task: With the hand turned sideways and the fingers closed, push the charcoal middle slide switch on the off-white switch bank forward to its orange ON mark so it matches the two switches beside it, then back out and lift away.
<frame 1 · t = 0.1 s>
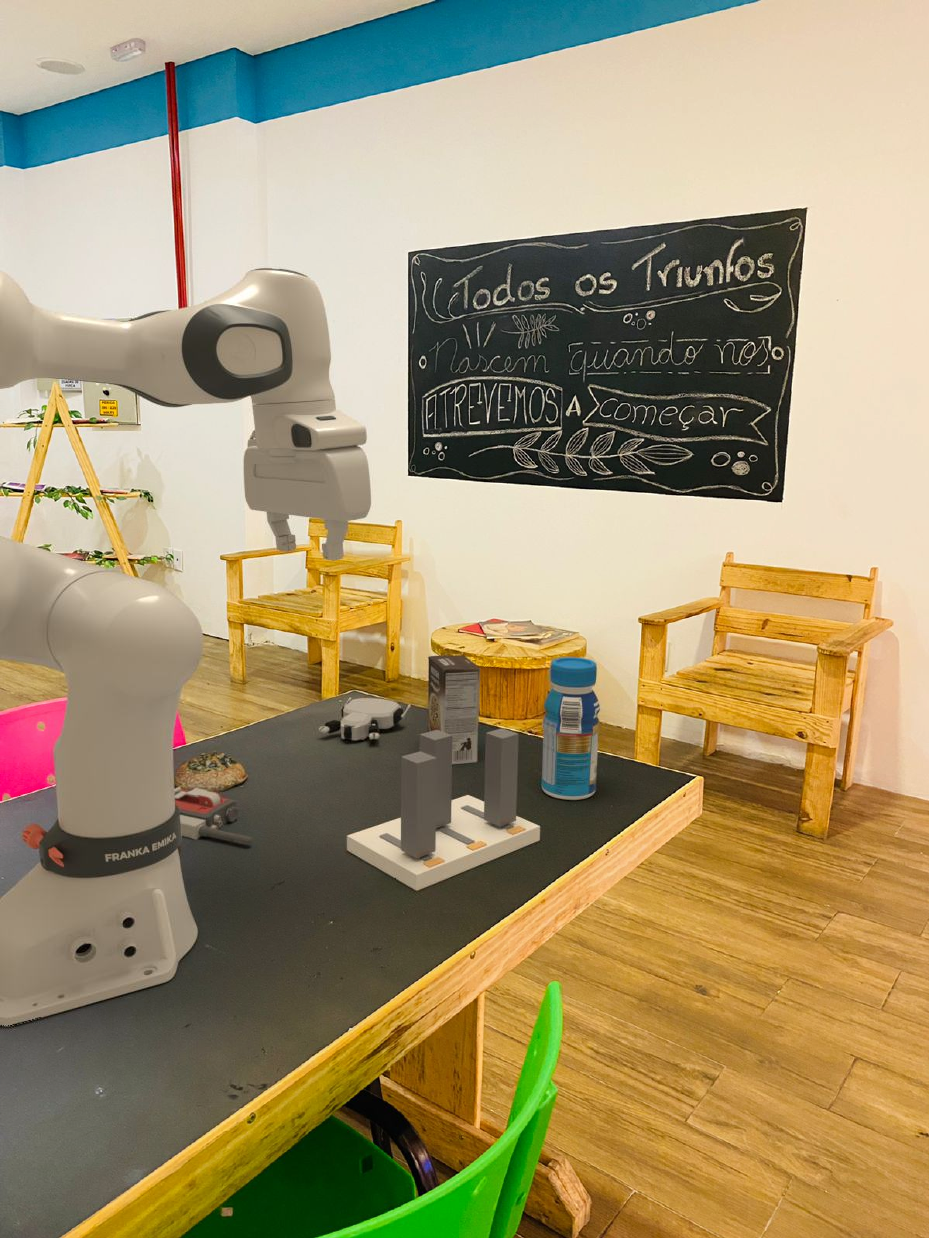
hand: (309, 554, 103), 39 cm above the table, tool pointing down, fingers open, 8 cm apart
left switch: (418, 804, 111), point 9 cm above the table, slide at 5.0 cm
walkie-talkie: (204, 828, 125), on the table
coffee box: (452, 756, 153), on the table
beverage bottle: (568, 792, 139), on the table
right switch: (501, 777, 120), point 9 cm above the table, slide at 5.0 cm
bread roll: (210, 783, 140), on the table
robot toy: (364, 734, 164), on the table
switch bank: (444, 845, 120), on the table
middle switch: (435, 778, 119), point 9 cm above the table, slide at 0.0 cm
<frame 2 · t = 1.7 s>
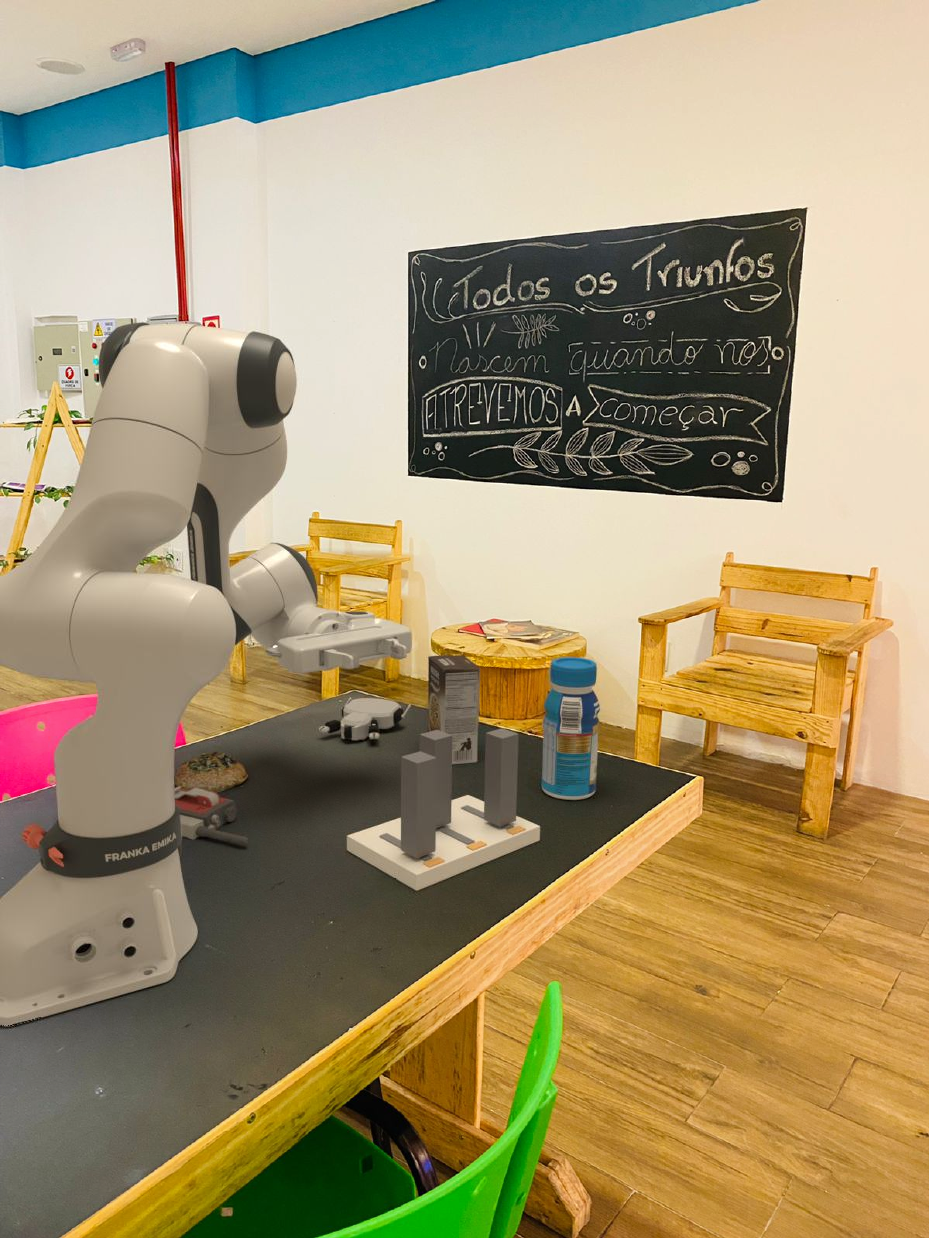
hand: (379, 657, 125), 22 cm above the table, tool horizontal, fingers open, 7 cm apart
nothing on the table moved.
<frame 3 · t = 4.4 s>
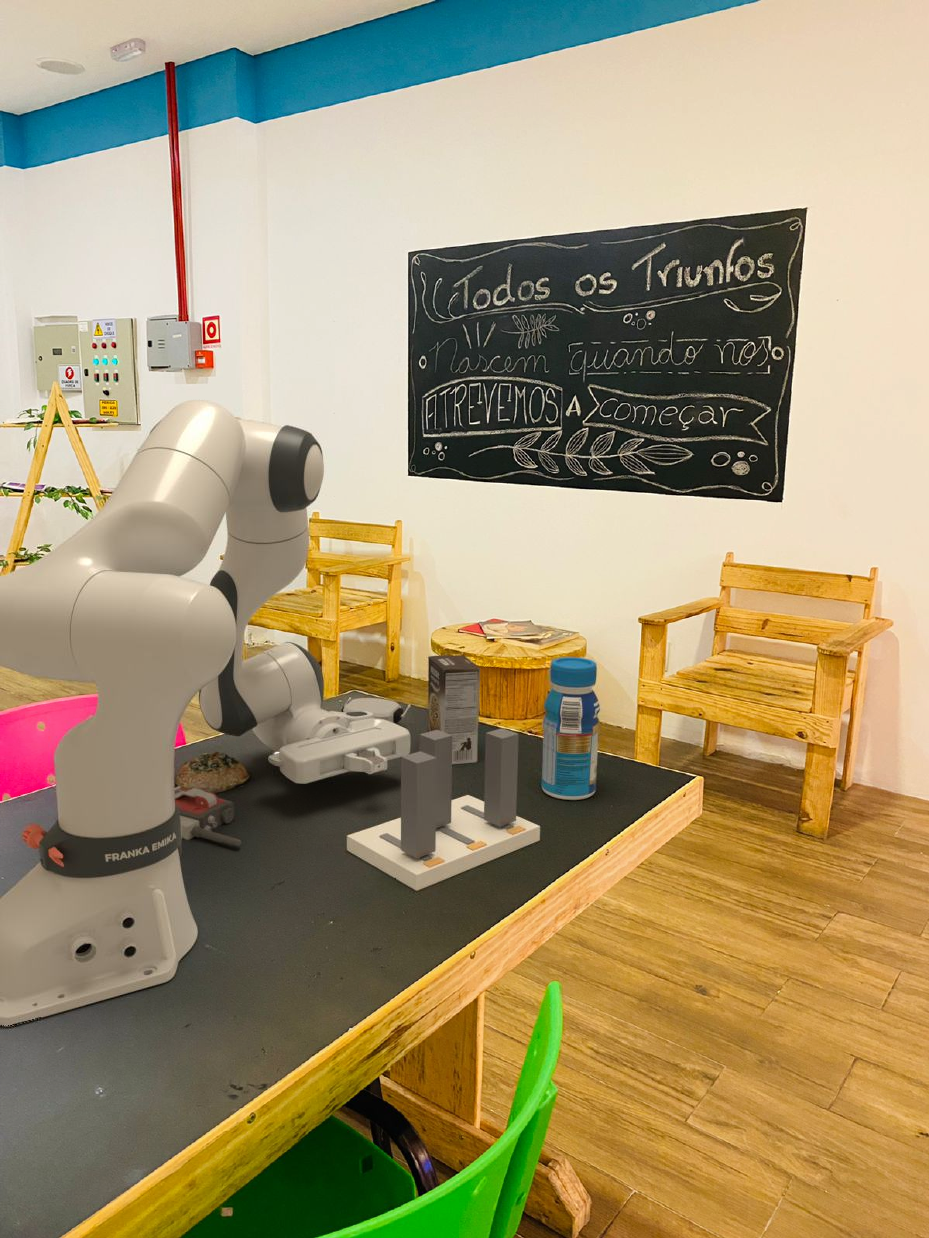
hand: (379, 766, 128), 7 cm above the table, tool horizontal, fingers closed
nothing on the table moved.
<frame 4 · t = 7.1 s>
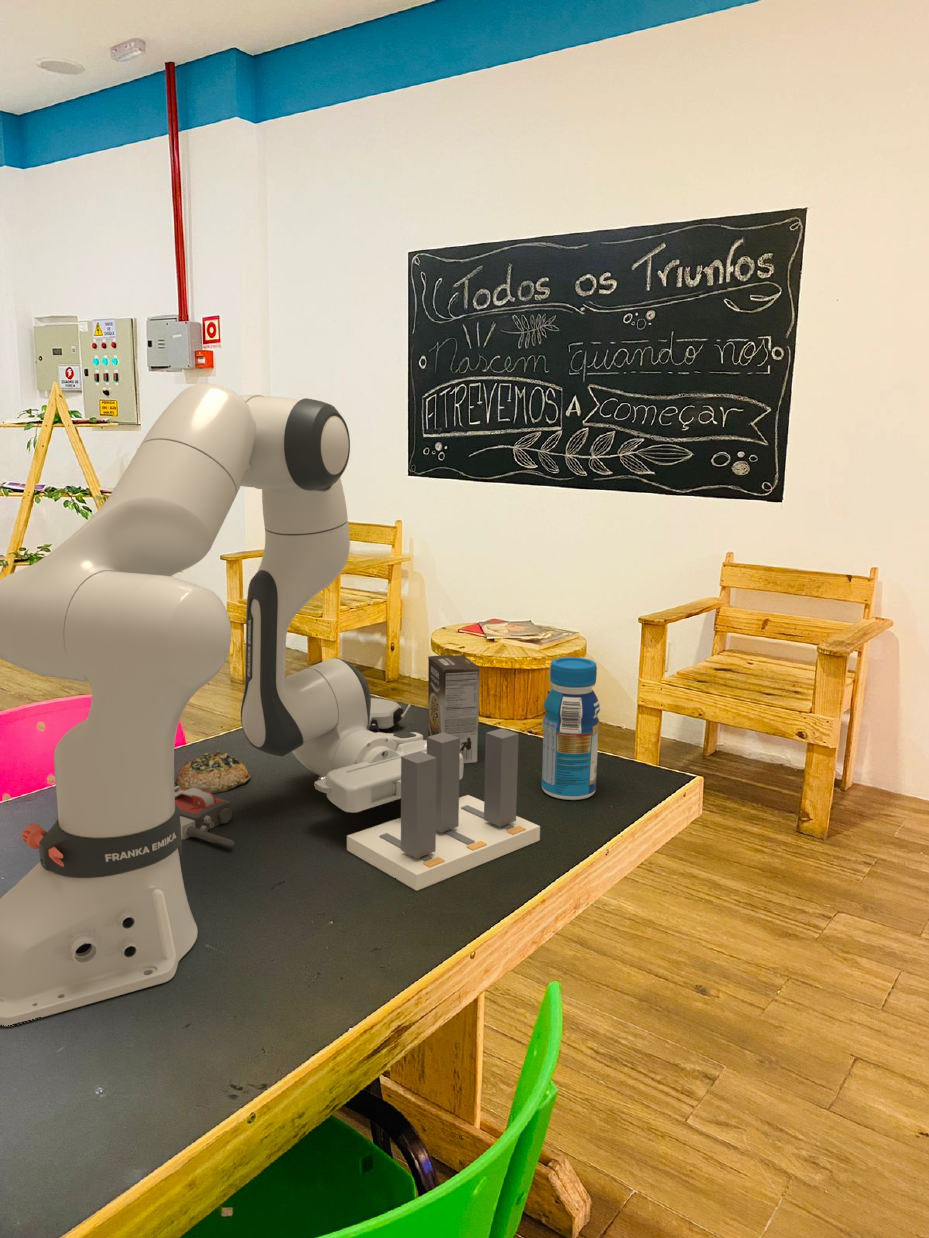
hand: (434, 793, 120), 6 cm above the table, tool horizontal, fingers closed, pressing on middle switch
middle switch: (442, 782, 118), point 9 cm above the table, slide at 1.4 cm, touching gripper
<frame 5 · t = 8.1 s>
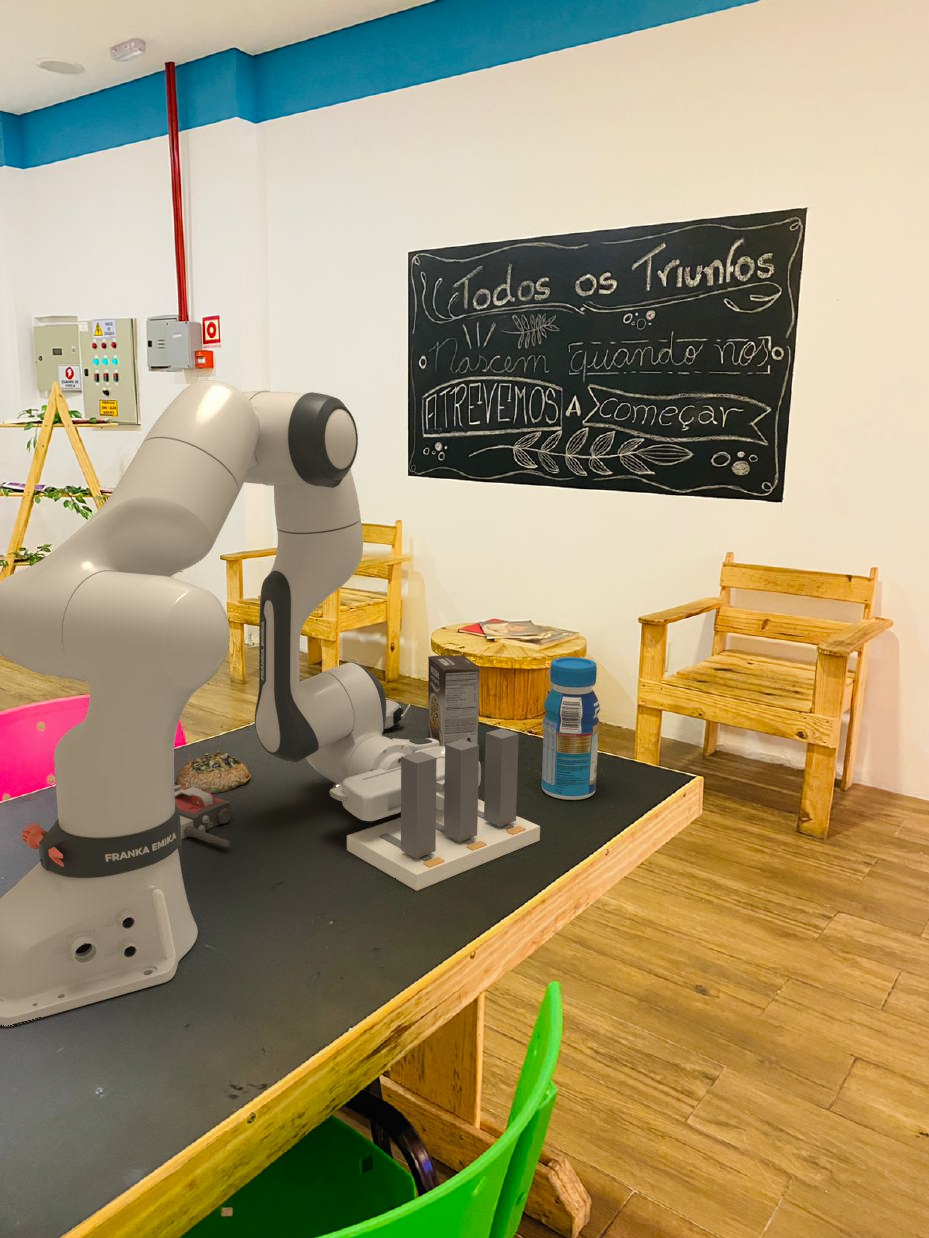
hand: (452, 802, 117), 6 cm above the table, tool horizontal, fingers closed, pressing on middle switch
middle switch: (461, 790, 116), point 8 cm above the table, slide at 5.0 cm, touching gripper
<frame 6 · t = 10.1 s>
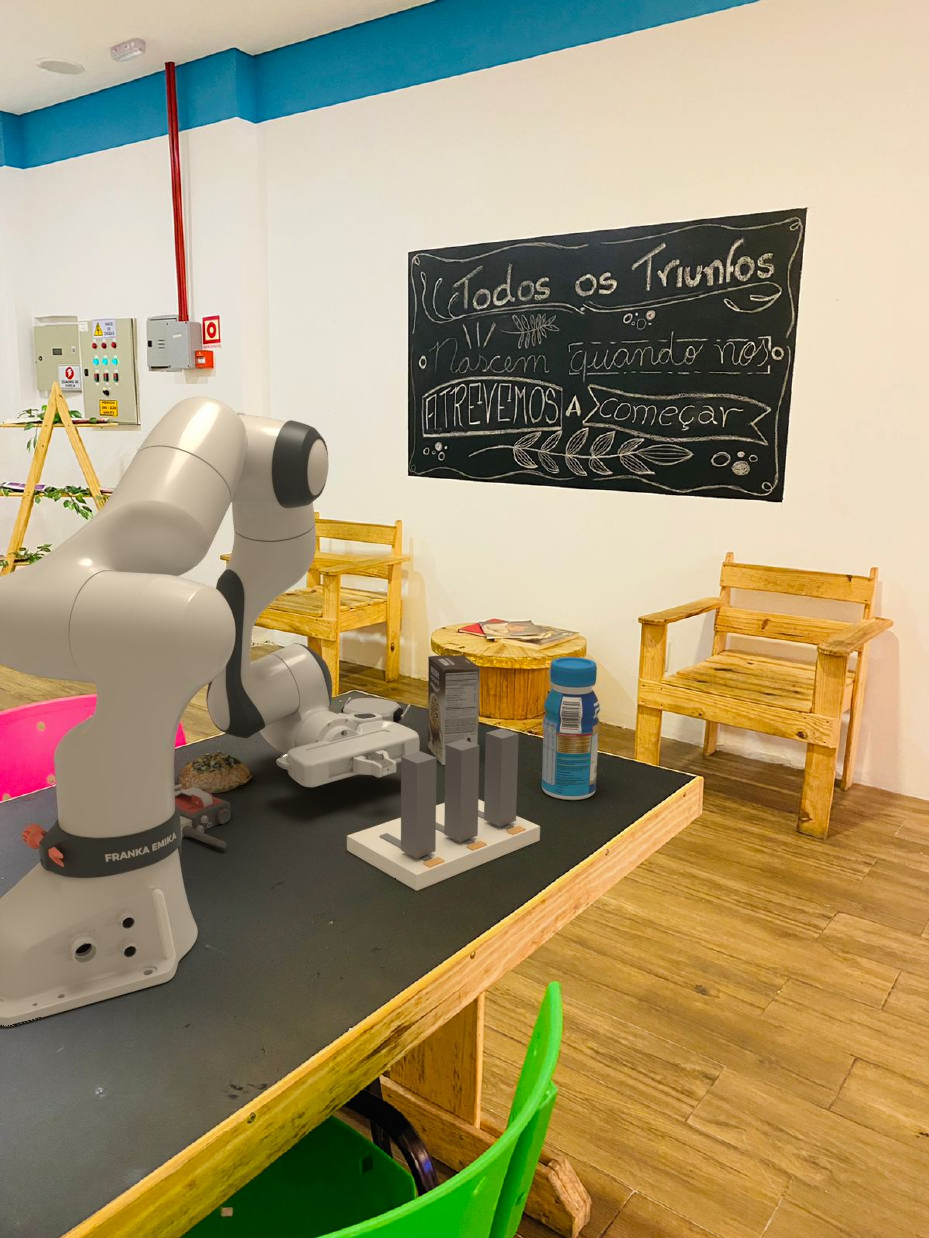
hand: (388, 769, 127), 7 cm above the table, tool horizontal, fingers closed
middle switch: (461, 790, 116), point 9 cm above the table, slide at 5.1 cm
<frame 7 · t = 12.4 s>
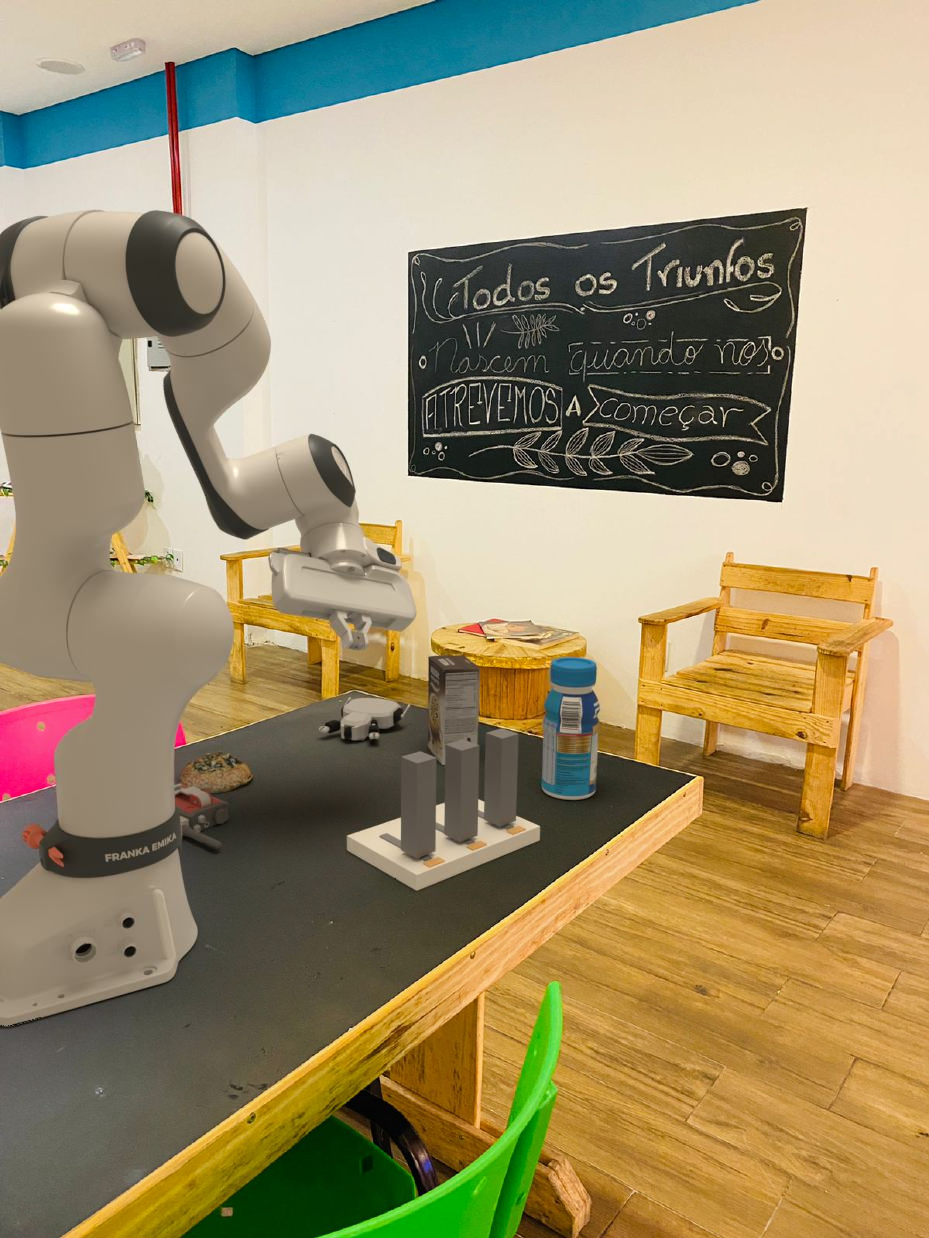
hand: (356, 647, 117), 26 cm above the table, tool tilted 45°, fingers closed
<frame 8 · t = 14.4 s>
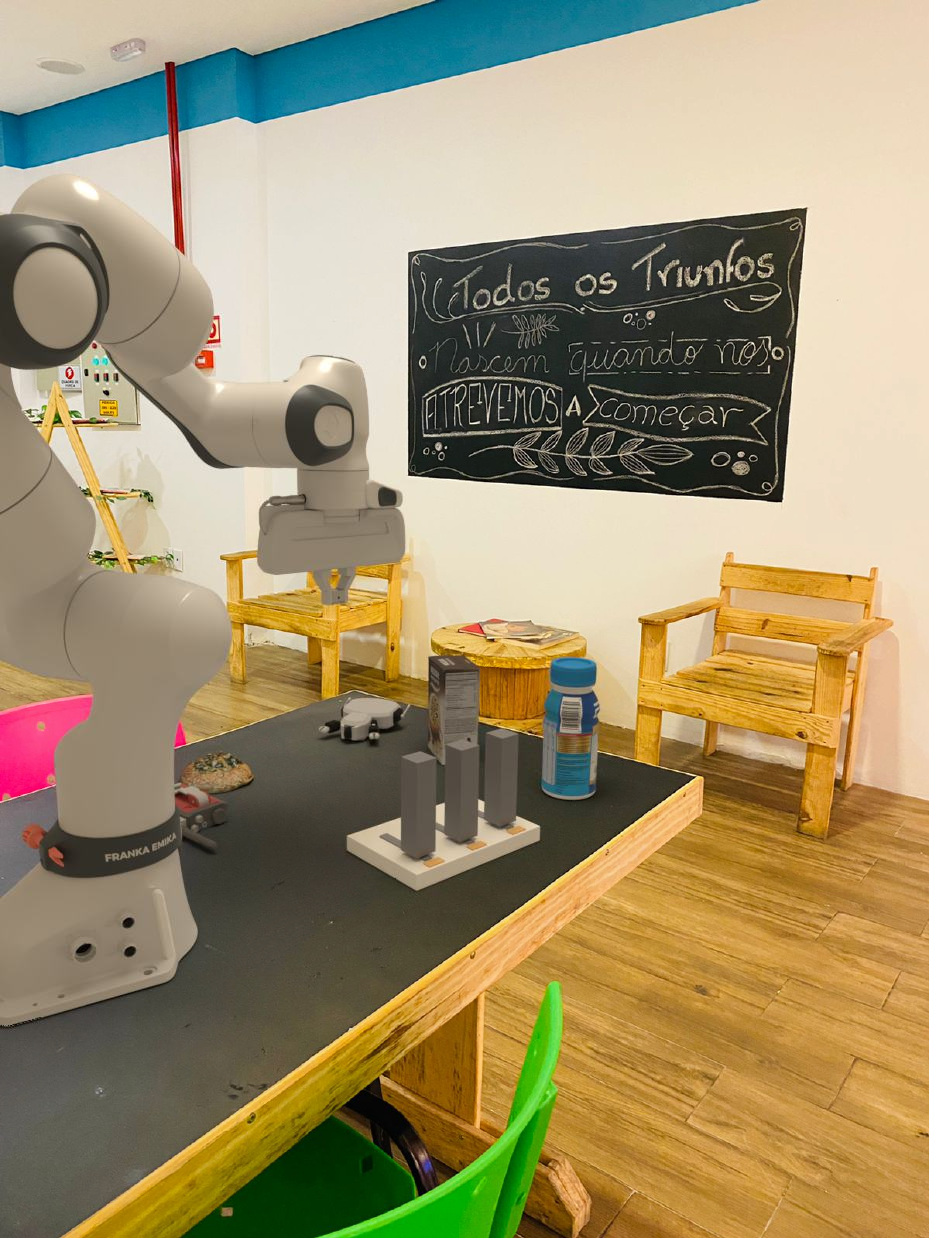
hand: (334, 603, 116), 31 cm above the table, tool pointing down, fingers closed
at the end: middle switch slide at 5.1 cm; left switch slide at 5.0 cm; right switch slide at 5.0 cm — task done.
